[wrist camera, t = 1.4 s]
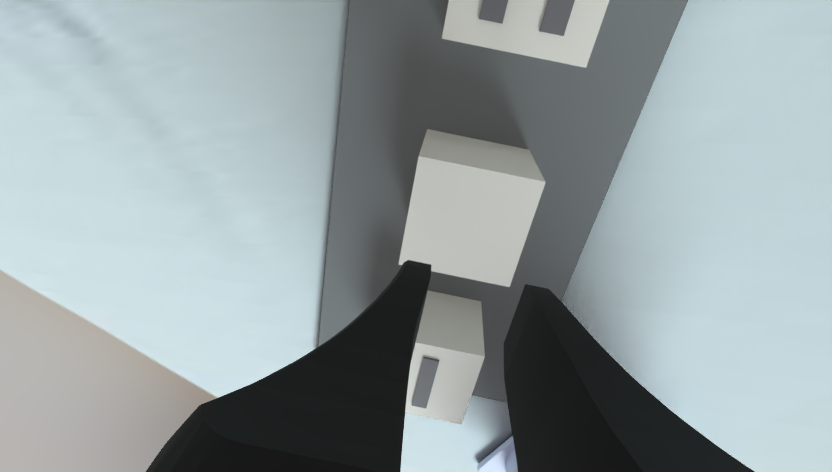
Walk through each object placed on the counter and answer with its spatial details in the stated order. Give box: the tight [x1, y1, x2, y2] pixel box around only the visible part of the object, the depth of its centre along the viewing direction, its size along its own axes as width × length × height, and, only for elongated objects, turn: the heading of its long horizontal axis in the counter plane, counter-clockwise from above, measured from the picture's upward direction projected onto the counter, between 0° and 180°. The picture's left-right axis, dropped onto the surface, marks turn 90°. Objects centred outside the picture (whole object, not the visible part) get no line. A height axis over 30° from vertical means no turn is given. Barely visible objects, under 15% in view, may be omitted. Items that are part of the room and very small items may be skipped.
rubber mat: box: [318, 0, 688, 402], centre depth 19 cm, size 25×12×1 cm, turn 170°
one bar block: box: [405, 291, 485, 424], centre depth 21 cm, size 4×4×4 cm
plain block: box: [399, 129, 546, 287], centre depth 17 cm, size 4×4×4 cm
